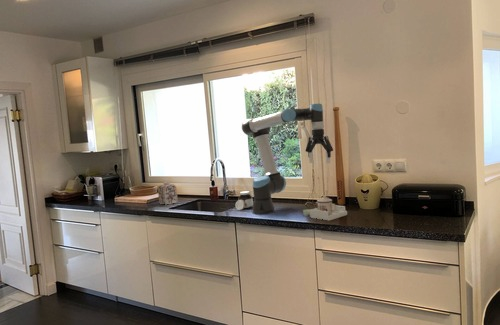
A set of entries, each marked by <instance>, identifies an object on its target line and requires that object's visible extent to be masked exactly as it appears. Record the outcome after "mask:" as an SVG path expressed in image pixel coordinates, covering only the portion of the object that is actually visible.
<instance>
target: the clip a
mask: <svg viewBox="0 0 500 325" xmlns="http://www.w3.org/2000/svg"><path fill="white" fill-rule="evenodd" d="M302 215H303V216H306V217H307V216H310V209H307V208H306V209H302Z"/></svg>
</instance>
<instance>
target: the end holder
mask: <svg viewBox="0 0 500 325" xmlns="http://www.w3.org/2000/svg"><path fill="white" fill-rule="evenodd" d="M335 205H336V210H335V211H334V212H333V215H330V216H328V211H321V210H314V208H311V209H309V210H310V215H309V218H310V217H311V218H312V219H316V218H317V219H316V220H322V219H323V221H329V222H330V221H332V220H335V219H339V218H341V217H345V216H347V215H348V210H346V206H345V205H337V204H335ZM334 208H335V207H334V205H332V210H334ZM311 218H310V219H311Z"/></svg>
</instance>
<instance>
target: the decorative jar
mask: <svg viewBox="0 0 500 325" xmlns="http://www.w3.org/2000/svg"><path fill="white" fill-rule="evenodd" d="M157 192H158V193H157V194H158V203H162V204H171V203H176V202H178V200H179V199H178V190H177V187H176V185H175V183H170V181H165V182H163V184H161V185H159V186H158V187H157ZM176 204H177V203H176ZM171 205H172V204H171Z"/></svg>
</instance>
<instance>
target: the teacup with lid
mask: <svg viewBox="0 0 500 325" xmlns="http://www.w3.org/2000/svg"><path fill="white" fill-rule="evenodd" d="M316 203H317V208H318V210H321V211H328V216H330V215H333V212H334V211H335V210H336V205H337V204H335V203H333V199H331V198H329V197H327V196H326V195H322V197H321V198H319V199H317V201H316ZM332 205H334V207H335V208H334V210H332Z"/></svg>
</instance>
